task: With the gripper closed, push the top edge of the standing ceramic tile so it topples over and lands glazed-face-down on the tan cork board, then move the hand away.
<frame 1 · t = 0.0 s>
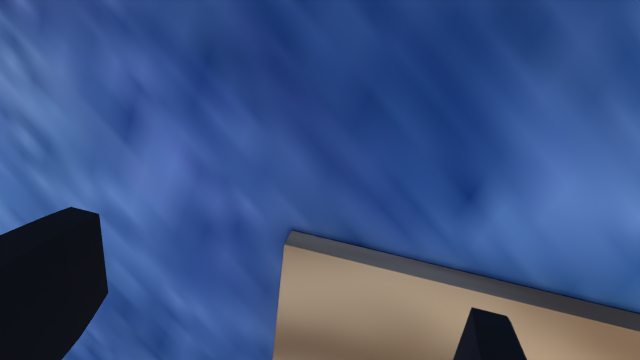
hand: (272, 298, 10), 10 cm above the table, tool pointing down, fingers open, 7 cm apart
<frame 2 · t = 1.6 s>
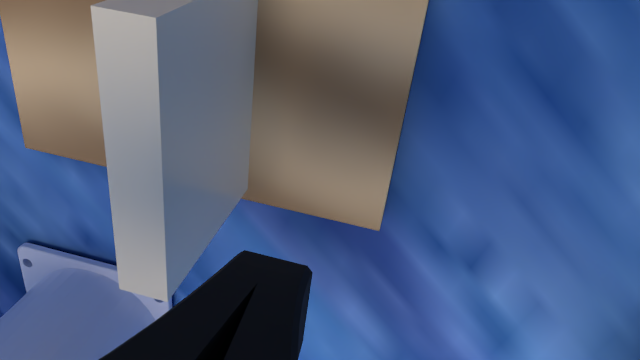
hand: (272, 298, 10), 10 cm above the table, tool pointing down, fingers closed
tile: (232, 87, 19), point 1 cm above the table, touching cork board
cork board: (204, 30, 19), on the table
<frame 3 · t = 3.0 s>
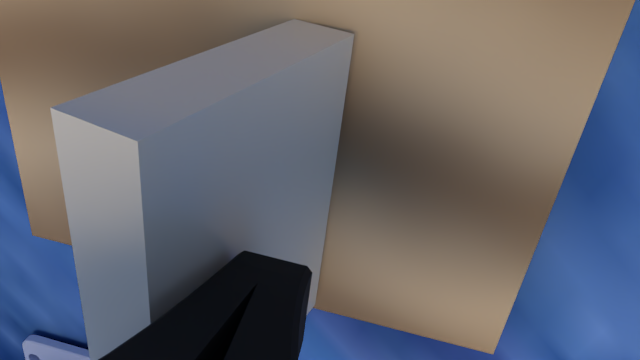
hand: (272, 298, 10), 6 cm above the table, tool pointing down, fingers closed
tile: (306, 179, 14), point 1 cm above the table, tilted 14°, touching cork board
cork board: (269, 99, 14), on the table
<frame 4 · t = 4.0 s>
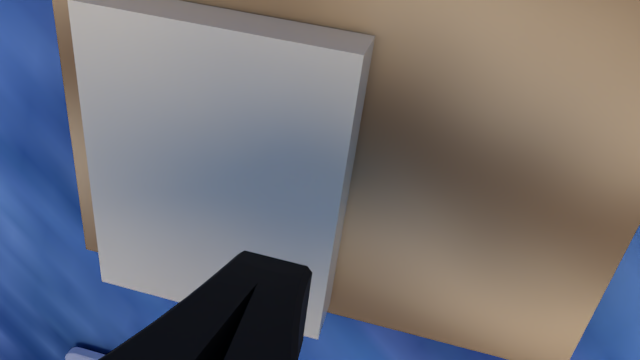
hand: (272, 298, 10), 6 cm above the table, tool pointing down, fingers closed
tile: (343, 204, 13), point 2 cm above the table, tilted 90°, touching cork board
cork board: (341, 114, 14), on the table
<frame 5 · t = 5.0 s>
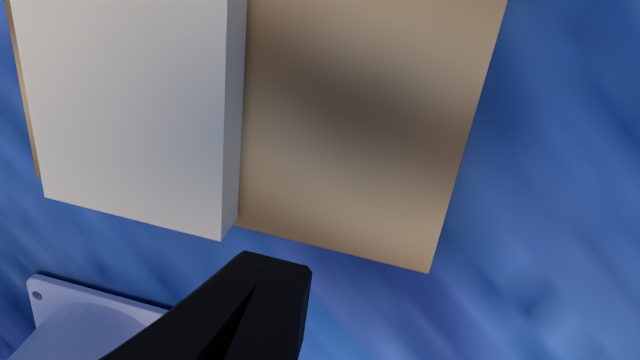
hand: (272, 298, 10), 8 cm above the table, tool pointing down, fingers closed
tile: (233, 122, 16), point 2 cm above the table, tilted 90°, touching cork board
cork board: (237, 53, 17), on the table
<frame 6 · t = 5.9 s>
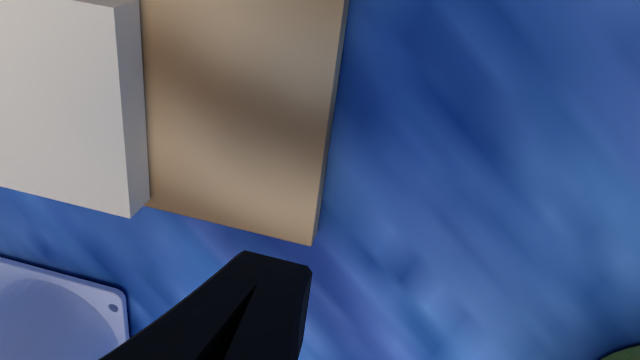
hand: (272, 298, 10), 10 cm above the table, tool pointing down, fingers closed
tile: (134, 116, 19), point 2 cm above the table, tilted 90°, touching cork board
cork board: (142, 58, 20), on the table
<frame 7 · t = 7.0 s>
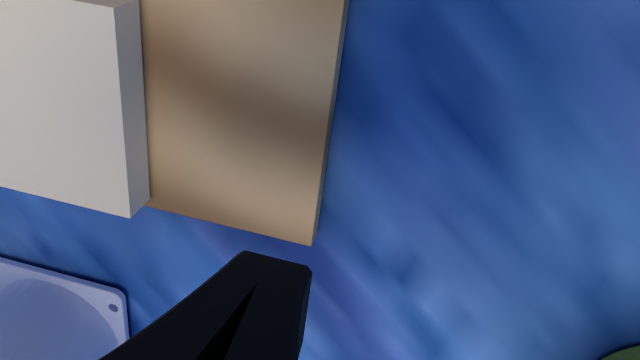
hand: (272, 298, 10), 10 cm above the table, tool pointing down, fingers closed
tile: (134, 116, 19), point 2 cm above the table, tilted 90°, touching cork board
cork board: (142, 58, 20), on the table
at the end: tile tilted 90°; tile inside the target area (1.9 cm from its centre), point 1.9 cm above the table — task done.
